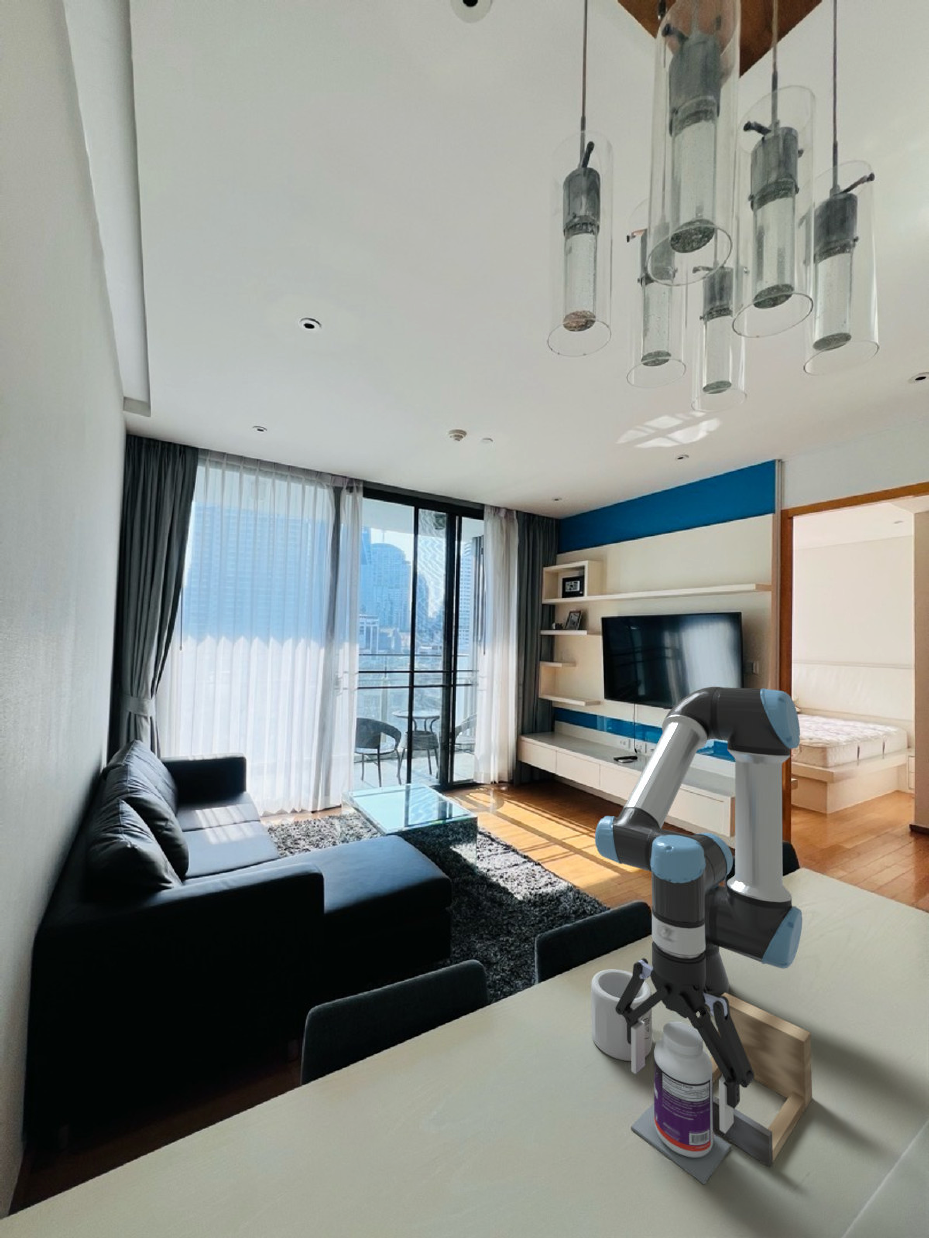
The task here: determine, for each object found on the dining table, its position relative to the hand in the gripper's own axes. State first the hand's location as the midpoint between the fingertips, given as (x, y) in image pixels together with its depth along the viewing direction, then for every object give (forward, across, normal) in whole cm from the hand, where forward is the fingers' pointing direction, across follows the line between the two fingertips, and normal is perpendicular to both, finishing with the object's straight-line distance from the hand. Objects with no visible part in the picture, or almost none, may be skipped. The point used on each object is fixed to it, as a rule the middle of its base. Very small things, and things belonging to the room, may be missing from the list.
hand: (679, 1095), depth 79 cm
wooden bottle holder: (+6, +4, +14) cm, 15 cm away
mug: (+6, -17, +12) cm, 22 cm away
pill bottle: (+6, 0, 0) cm, 6 cm away
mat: (+6, 0, 0) cm, 6 cm away
